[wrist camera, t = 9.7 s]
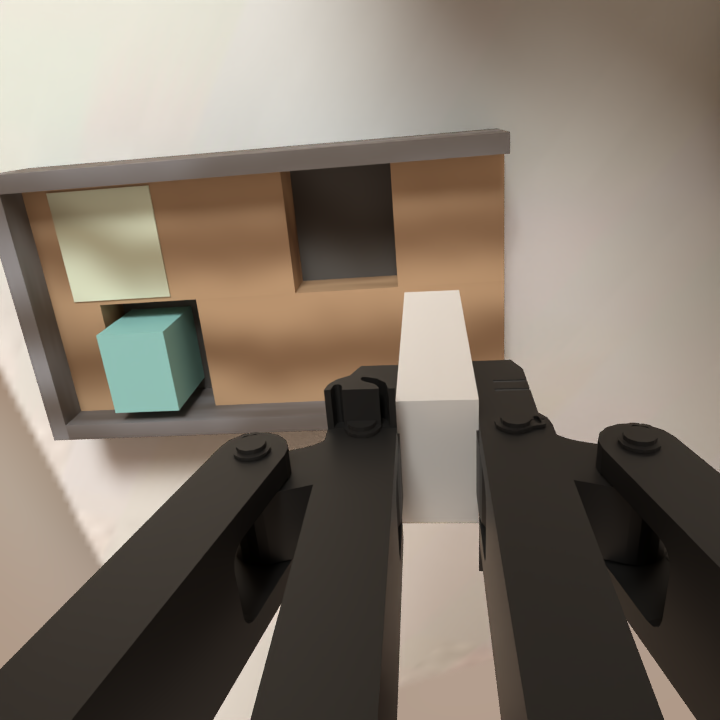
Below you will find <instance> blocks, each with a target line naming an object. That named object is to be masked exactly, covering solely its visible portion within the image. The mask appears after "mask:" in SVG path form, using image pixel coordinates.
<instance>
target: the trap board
mask: <svg viewBox="0 0 720 720" xmlns="http://www.w3.org/2000/svg"><path fill="white" fill-rule="evenodd" d="M509 153H510V132H508V131H504V130H500V129H488V130H476V131H464V132H452V133H440V134H428V135H417V136H405V137H393V138H381V139H369V140H358V141H346V142H334V143H322V144H310V145H298V146H287V147H275V148H263V149H251V150H239V151H227V152H216V153H204V154H192V155H180V156H168V157H157V158H145V159H133V160H121V161H109V162H97V163H86V164H74V165H62V166H50V167H38V168H28V169H22V170H15V171H9V172H3V173H0V258H1V262H2V265H3V268H4V272H5V275H6V278H7V282H8V285H9V289H10V292H11V295H12V299H13V302H14V305H15V309H16V312H17V316H18V319H19V322H20V326H21V329H22V332H23V336H24V339H25V342H26V346H27V349H28V353H29V356H30V359H31V363H32V366H33V369H34V373H35V376H36V380H37V383H38V386H39V390H40V393H41V396H42V400H43V403H44V407H45V410H46V413H47V417H48V420H49V423H50V427H51V430H52V434H53V437H54V440H76V439H102V438H129V437H156V436H182V435H209V434H236V433H254V432H259V433H262V432H289V431H316V430H328V425H327V416H326V407H325V397H324V389H325V388H326V387H327V385H328V384H329V383H331V382H333V381H335V380H336V379H339V378H343V377H346V376H350V375H351V374H352V373H353V372H354V371H356V370H357V369H358V368H359V367H360V366H377V365H399V353H400V341H401V328H402V316H403V304H404V292H425V291H448V290H459V293H460V298H461V304H462V309H463V315H464V320H465V326H466V331H467V337H468V343H469V348H470V354H471V359H472V361H487V360H504V154H509ZM185 306H191V308H192V313H193V318H194V324H195V329H196V334H197V340H198V345H199V350H200V355H201V361H202V366H203V371H204V379H203V380H202V381H201V383H200V384H199V385H198V387H197V388H196V389H195V390H194V392H193V393H192V394H191V396H190V397H189V398H188V400H187V401H186V402H185V404H184V405H183V406H182V407H181V409H180V410H177V411H153V412H129V413H115V409H114V405H113V401H112V397H111V393H110V389H109V385H108V381H107V377H106V373H105V369H104V365H103V361H102V357H101V353H100V349H99V345H98V341H97V337H96V335H98V334H99V333H100V332H102V331H103V330H104V329H106V328H107V327H109V326H110V325H111V324H113V323H114V322H115V321H117V320H118V319H120V318H121V317H122V316H124V315H125V314H126V313H128V312H129V311H131V310H134V309H151V308H168V307H185Z"/></svg>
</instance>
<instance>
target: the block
mask: <svg viewBox="0 0 720 720" xmlns="http://www.w3.org/2000/svg"><path fill="white" fill-rule="evenodd" d="M96 337H97V341H98V345H99V349H100V353H101V357H102V361H103V365H104V369H105V373H106V377H107V381H108V385H109V389H110V393H111V397H112V401H113V405H114V409H115V413H129V412H153V411H177V410H180V409H181V407H182V406H183V405H184V404H185V402H186V401H187V400H188V398H189V397H190V396H191V394H192V393H193V392H194V390H195V389H196V388H197V387H198V385H199V384H200V383H201V381H202V380H203V379H204V371H203V366H202V361H201V355H200V350H199V345H198V340H197V334H196V329H195V324H194V318H193V313H192V308H191V306H185V307H168V308H151V309H134V310H131V311H129V312H128V313H126V314H125V315H124V316H122V317H121V318H120V319H118V320H117V321H115V322H114V323H113V324H111V325H110V326H109V327H107V328H106V329H104V330H103V331H102V332H100V333H99V334H98V335H96Z"/></svg>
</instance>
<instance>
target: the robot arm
mask: <svg viewBox="0 0 720 720" xmlns="http://www.w3.org/2000/svg"><path fill="white" fill-rule="evenodd" d="M324 397H325V407H326V416H327V425H328V430H327V434H326V438H325V440H324V441H323V442H320V443H318V444H315V445H313V446H309V447H305V448H301V449H296V450H291V451H289V450H288V445H287V442H286V440H285V439H283V438H282V437H280V436H279V435H275V434H271V433H259V432H254V433H250V434H249V433H247V434H243V435H241V436H239V437H236V438H234V439H231V440H229V441H228V442H227V443H225V444H224V445H222V446H221V447H220V448H219V449H218V450H217V451H216V452H215V453H214V454H213V455H212V456H211V457H210V458H209V459H208V460H207V461H206V462H205V463H204V464H203V465H202V466H201V467H200V468H199V469H198V470H197V471H196V472H195V473H194V474H193V475H192V476H191V477H190V478H189V479H188V480H187V481H186V482H185V483H184V484H183V485H182V486H181V487H180V488H179V489H178V490H177V491H176V492H175V493H174V494H173V495H172V496H171V497H170V498H169V499H168V500H167V501H166V502H165V503H164V504H163V505H162V506H161V507H160V508H159V509H158V510H157V511H156V512H155V513H154V514H153V516H152V517H151V518H150V519H149V520H148V521H147V522H146V523H145V524H144V525H143V526H142V527H141V528H140V529H139V530H138V531H137V532H136V533H135V534H134V535H133V536H132V537H131V538H130V539H129V540H128V541H127V542H126V543H125V544H124V545H123V546H122V547H121V548H120V549H119V550H118V551H117V552H116V553H115V554H114V555H113V556H112V557H111V558H110V559H109V560H108V561H107V562H106V563H105V564H104V565H103V566H102V567H101V568H100V569H99V570H98V571H97V572H96V573H95V574H94V575H93V576H92V577H91V578H90V579H89V580H88V581H87V582H86V583H85V584H84V585H83V586H82V587H81V588H80V589H79V590H78V591H77V592H76V593H75V594H74V595H73V596H72V597H71V598H70V599H69V600H68V601H67V602H66V603H65V604H64V605H63V606H62V607H61V608H60V610H58V612H56V614H54V615H53V616H52V617H51V619H49V620H48V621H47V623H45V625H44V626H43V627H42V628H41V629H40V630H39V631H38V632H37V633H36V634H35V635H34V636H33V637H32V638H31V639H30V640H29V641H28V642H27V643H26V644H25V645H24V646H23V647H22V648H21V649H20V650H19V651H18V652H17V653H16V654H15V655H14V656H13V657H12V658H11V659H10V660H9V661H8V662H7V663H6V664H5V665H4V666H3V667H2V668H1V669H0V720H213V719H214V717H215V715H216V714H217V712H218V710H219V709H220V707H221V705H222V704H223V702H224V700H225V698H226V697H227V695H228V693H229V692H230V690H231V688H232V686H233V685H234V683H235V681H236V680H237V678H238V676H239V675H240V673H241V671H242V669H243V668H244V666H245V664H246V663H247V661H248V659H249V657H250V656H251V654H252V652H253V651H254V649H255V647H256V646H257V644H258V642H259V640H260V639H261V637H262V635H263V634H264V632H265V630H266V629H267V627H268V625H269V623H270V622H271V620H272V618H273V617H274V615H275V613H276V611H277V610H278V608H279V606H280V605H281V607H280V611H279V615H278V618H277V622H276V626H275V630H274V633H273V637H272V641H271V645H270V648H269V652H268V656H267V660H266V663H265V667H264V671H263V675H262V678H261V682H260V686H259V690H258V693H257V697H256V701H255V705H254V708H253V712H252V716H251V720H397V704H398V676H399V648H400V620H401V593H402V565H403V524H402V523H479V571H483V574H484V582H485V591H486V599H487V607H488V615H489V623H490V632H491V640H492V648H493V656H494V664H495V671H496V672H495V673H496V680H497V689H498V696H499V705H500V714H501V720H664V718H663V715H662V713H661V710H660V708H659V705H658V702H657V699H656V697H655V694H654V692H653V689H652V686H651V684H650V681H649V678H648V676H647V673H646V670H645V668H644V665H643V663H642V660H641V657H640V654H639V652H638V649H637V647H636V644H635V641H634V639H633V636H632V633H631V631H630V628H629V625H628V623H627V621H628V622H629V624H630V625H631V627H632V628H633V630H634V631H635V632H636V634H637V635H638V637H639V638H640V639H641V641H642V642H643V644H644V645H645V647H646V648H647V650H648V651H649V652H650V654H651V655H652V657H653V658H654V659H655V661H656V662H657V664H658V665H659V667H660V668H661V669H662V671H663V672H664V674H665V675H666V677H667V678H668V679H669V681H670V682H671V684H672V685H673V687H674V688H675V689H676V691H677V692H678V694H679V695H680V697H681V698H682V699H683V701H684V702H685V704H686V705H687V706H688V708H689V709H690V711H691V712H692V714H693V715H694V716H695V718H696V719H697V720H720V473H719V472H717V471H716V470H715V469H714V468H712V467H711V466H710V465H709V464H708V463H706V462H705V461H704V460H703V459H701V458H700V457H699V456H698V455H697V454H695V453H694V452H693V451H692V450H690V449H689V448H688V447H687V446H686V445H684V444H683V443H682V442H681V441H679V440H678V439H677V438H676V437H674V436H673V435H671V434H669V433H668V432H666V431H664V430H661V429H658V428H655V427H652V426H650V425H647V424H639V423H629V424H617V425H613V426H610V427H607V428H605V429H604V430H603V431H601V432H600V434H599V438H598V444H593V443H587V442H580V441H576V440H571V439H567V438H564V437H561V436H559V435H557V434H556V432H555V430H554V427H553V424H552V423H551V422H550V420H549V419H548V418H547V417H545V416H544V415H542V414H540V413H538V411H537V408H536V405H535V402H534V399H533V397H532V394H531V391H530V390H529V385H528V382H527V381H526V377H525V374H524V371H523V369H522V368H521V367H520V366H518V365H517V364H515V363H514V362H513V361H511V360H487V361H472V359H471V354H470V348H469V343H468V337H467V331H466V326H465V320H464V315H463V309H462V304H461V298H460V293H459V290H448V291H425V292H404V304H403V316H402V328H401V341H400V353H399V365H377V366H360V367H359V368H358V369H357V370H356V371H354V372H353V373H352V374H351V375H350V376H346V377H343V378H339V379H336V380H335V381H333V382H331V383H329V384H328V385H327V387H326V388H325V389H324Z"/></svg>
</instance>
